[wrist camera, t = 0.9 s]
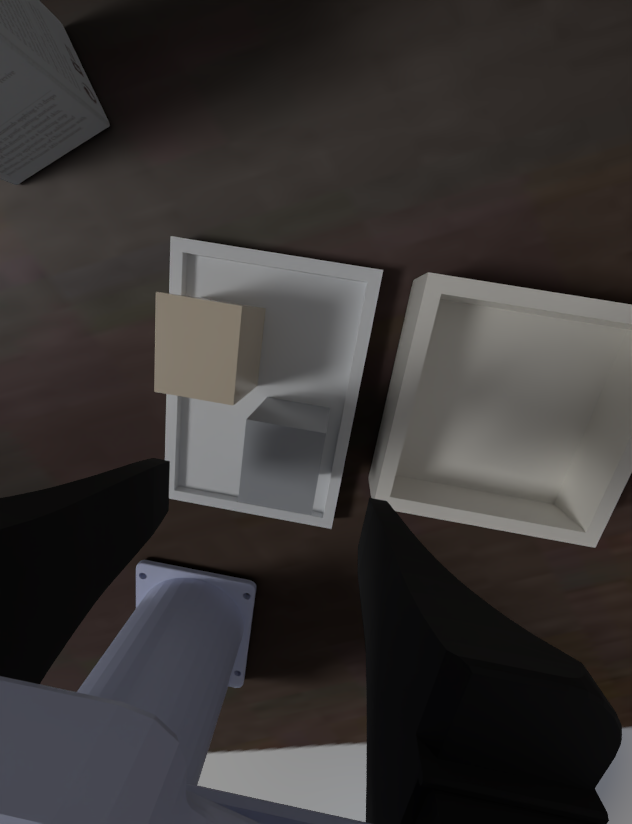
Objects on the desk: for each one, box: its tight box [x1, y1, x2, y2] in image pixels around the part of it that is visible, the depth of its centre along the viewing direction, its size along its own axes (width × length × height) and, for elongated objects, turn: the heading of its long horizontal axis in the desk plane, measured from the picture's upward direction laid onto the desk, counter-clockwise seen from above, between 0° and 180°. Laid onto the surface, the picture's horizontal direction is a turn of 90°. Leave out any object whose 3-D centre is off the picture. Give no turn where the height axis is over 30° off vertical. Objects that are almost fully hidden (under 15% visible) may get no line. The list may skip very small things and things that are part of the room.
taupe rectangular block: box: [154, 292, 266, 405], centre depth 15 cm, size 4×3×4 cm
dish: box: [368, 272, 632, 548], centre depth 16 cm, size 11×11×3 cm
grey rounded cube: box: [238, 397, 330, 515], centre depth 16 cm, size 4×3×4 cm
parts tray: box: [165, 236, 383, 529], centre depth 18 cm, size 14×10×1 cm
